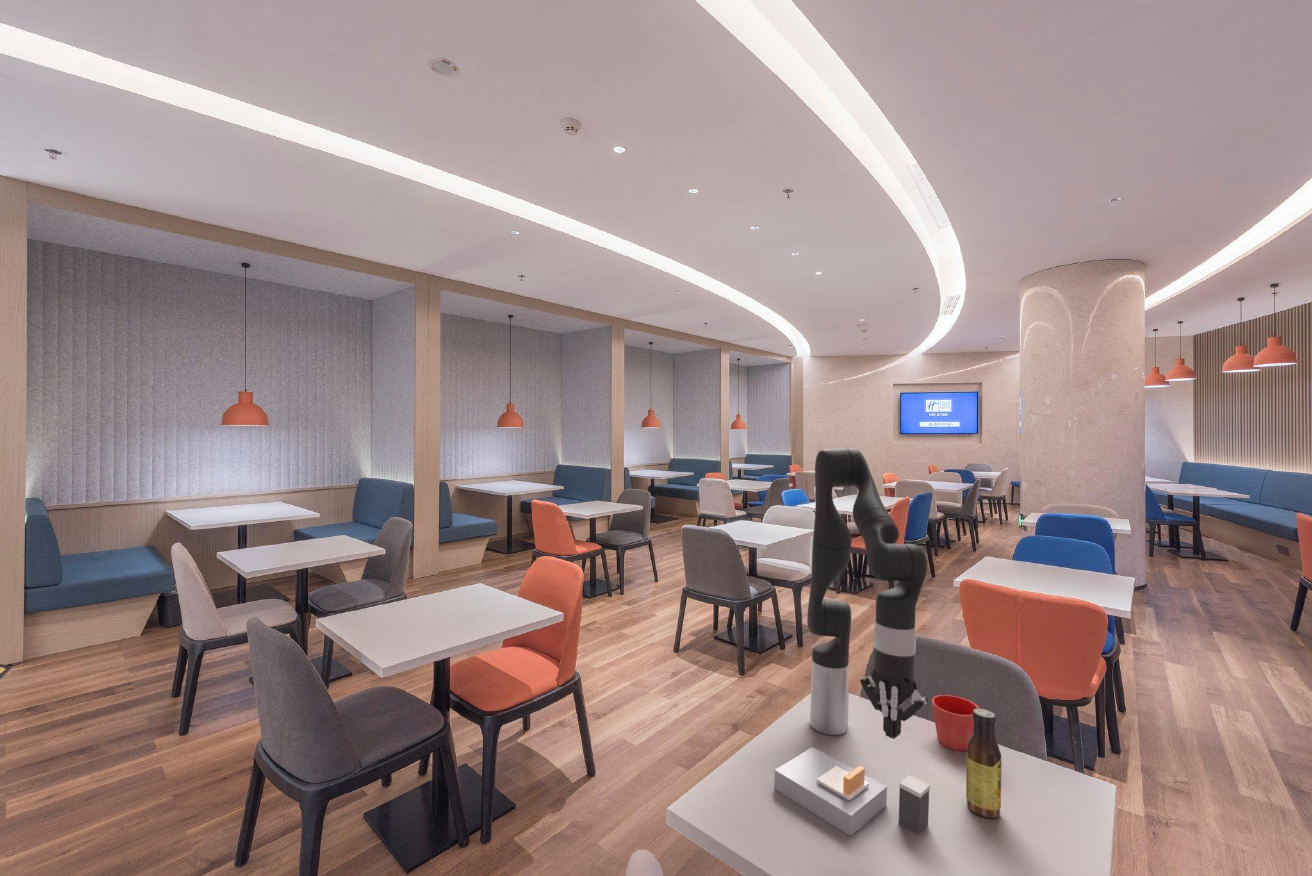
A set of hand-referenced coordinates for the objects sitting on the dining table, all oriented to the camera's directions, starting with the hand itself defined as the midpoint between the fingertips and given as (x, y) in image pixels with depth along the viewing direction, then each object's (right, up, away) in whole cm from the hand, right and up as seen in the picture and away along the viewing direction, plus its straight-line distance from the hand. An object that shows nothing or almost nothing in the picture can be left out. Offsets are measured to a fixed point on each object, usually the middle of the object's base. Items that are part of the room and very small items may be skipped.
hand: (891, 736), depth 106 cm
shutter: (-7, -14, +8) cm, 18 cm away
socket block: (-9, -18, +10) cm, 23 cm away
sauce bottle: (+22, -20, +7) cm, 30 cm away
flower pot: (+30, -20, +32) cm, 48 cm away
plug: (+5, -19, +2) cm, 20 cm away
